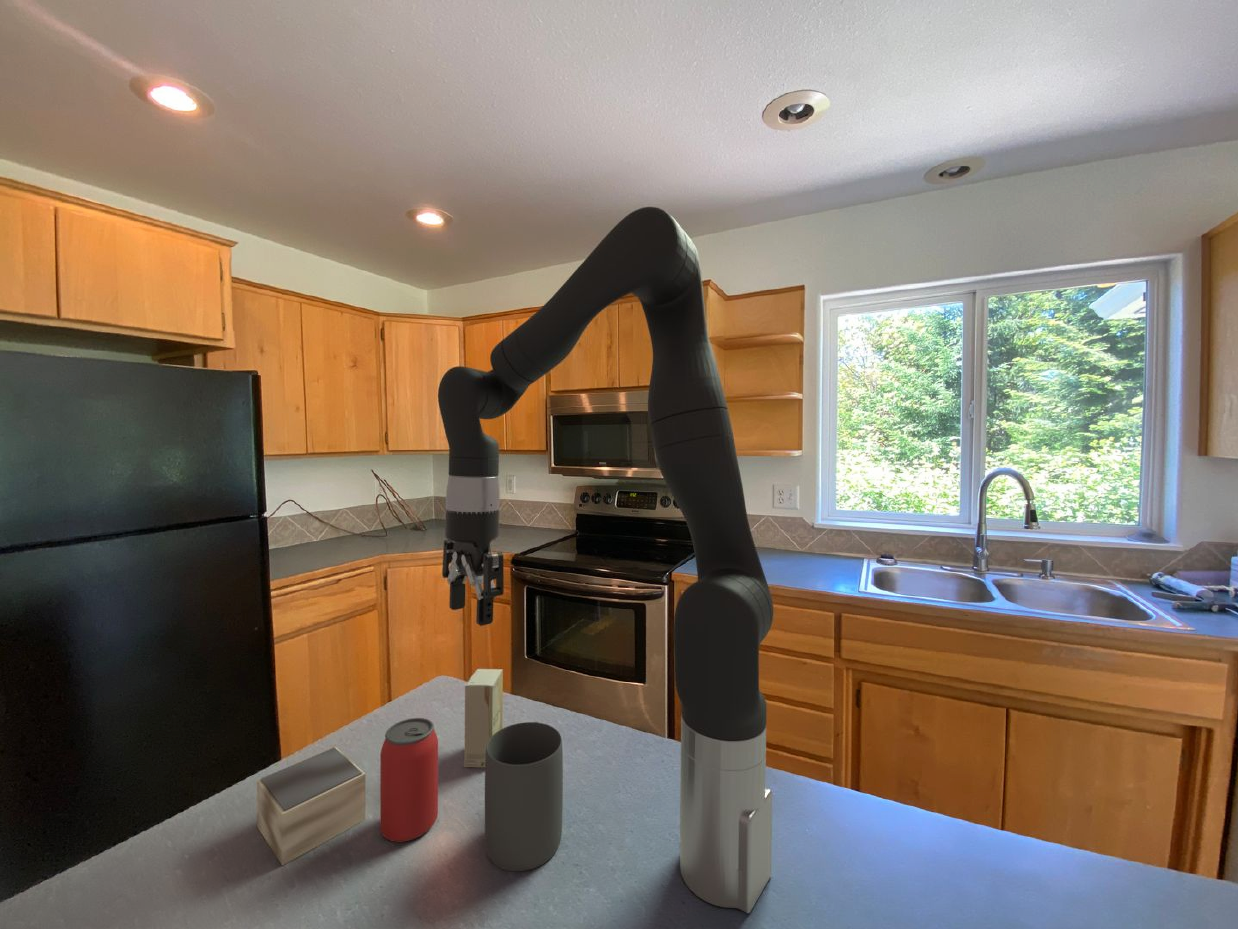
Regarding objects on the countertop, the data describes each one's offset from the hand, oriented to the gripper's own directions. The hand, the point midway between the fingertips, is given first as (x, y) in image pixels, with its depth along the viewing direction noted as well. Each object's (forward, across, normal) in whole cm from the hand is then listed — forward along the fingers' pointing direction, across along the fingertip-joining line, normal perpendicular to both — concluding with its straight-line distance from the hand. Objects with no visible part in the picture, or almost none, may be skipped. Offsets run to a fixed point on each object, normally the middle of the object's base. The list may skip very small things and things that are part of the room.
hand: (470, 616), depth 72 cm
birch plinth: (+23, +3, +19) cm, 30 cm away
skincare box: (+23, 0, -3) cm, 23 cm away
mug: (+22, -16, 0) cm, 28 cm away
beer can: (+23, -6, +11) cm, 26 cm away
